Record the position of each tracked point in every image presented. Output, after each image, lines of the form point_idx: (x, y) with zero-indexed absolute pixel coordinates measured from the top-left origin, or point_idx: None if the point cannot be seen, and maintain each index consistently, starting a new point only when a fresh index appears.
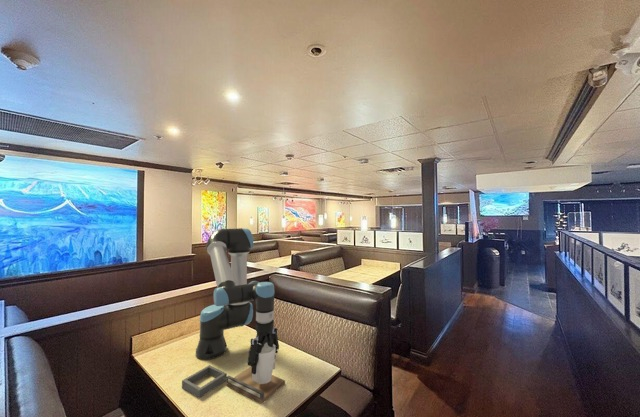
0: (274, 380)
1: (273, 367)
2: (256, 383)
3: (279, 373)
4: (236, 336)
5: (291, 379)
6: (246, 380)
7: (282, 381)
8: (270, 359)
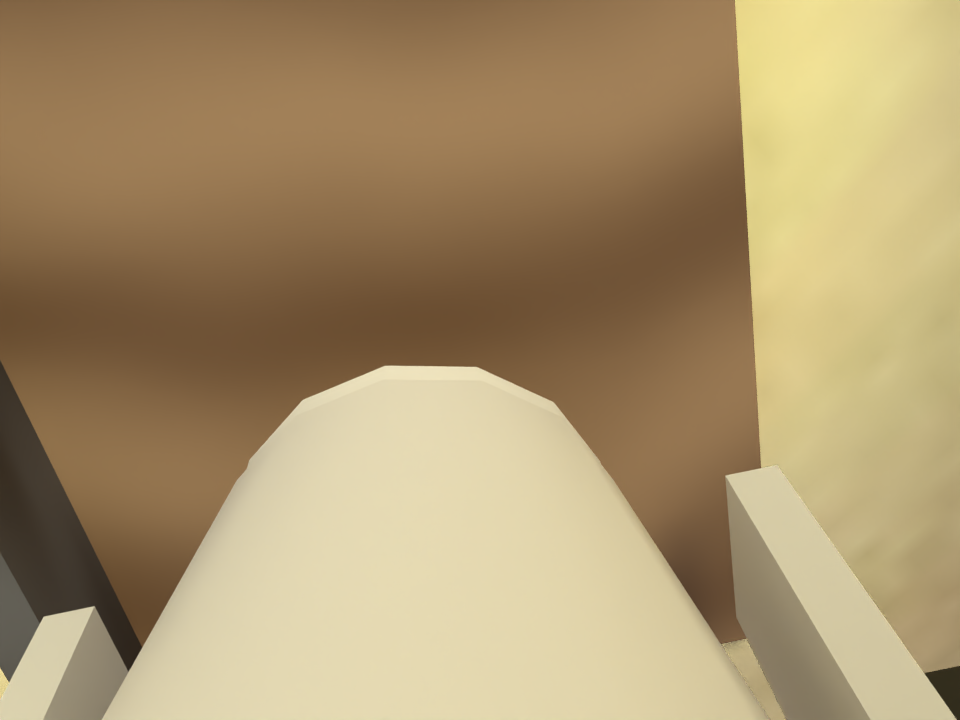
0: (644, 521)
1: (757, 653)
2: (308, 355)
3: (947, 288)
4: None
5: (908, 572)
6: (163, 71)
7: (716, 635)
8: None
